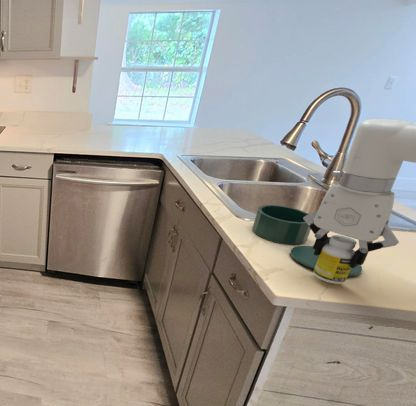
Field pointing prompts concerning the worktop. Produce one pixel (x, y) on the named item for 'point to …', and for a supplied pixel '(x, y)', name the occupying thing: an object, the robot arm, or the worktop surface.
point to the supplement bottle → (335, 259)
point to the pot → (281, 224)
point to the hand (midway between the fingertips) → (336, 258)
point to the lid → (315, 258)
